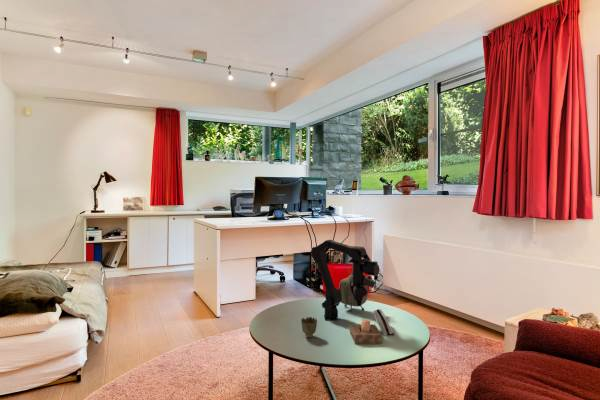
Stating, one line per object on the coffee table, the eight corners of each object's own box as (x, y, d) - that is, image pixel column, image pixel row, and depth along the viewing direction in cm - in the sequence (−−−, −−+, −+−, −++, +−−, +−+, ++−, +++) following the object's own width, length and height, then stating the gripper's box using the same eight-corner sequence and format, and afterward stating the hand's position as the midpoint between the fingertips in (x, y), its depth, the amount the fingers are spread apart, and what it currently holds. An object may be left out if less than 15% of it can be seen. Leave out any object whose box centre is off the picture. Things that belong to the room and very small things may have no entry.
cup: (305, 341, 154) (305, 323, 154) (298, 335, 161) (298, 318, 161) (320, 338, 158) (320, 321, 158) (312, 332, 164) (312, 315, 164)
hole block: (355, 344, 152) (355, 335, 152) (350, 332, 164) (350, 324, 164) (381, 343, 153) (381, 334, 153) (374, 332, 165) (375, 324, 165)
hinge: (395, 335, 162) (388, 315, 161) (386, 339, 162) (379, 319, 161) (386, 322, 178) (379, 304, 178) (377, 325, 178) (371, 307, 178)
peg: (362, 340, 156) (362, 322, 156) (360, 336, 160) (360, 319, 160) (370, 340, 157) (371, 322, 156) (368, 336, 161) (369, 319, 160)
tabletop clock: (367, 310, 196) (367, 266, 195) (361, 315, 188) (361, 269, 187) (343, 305, 203) (344, 263, 203) (337, 310, 196) (337, 266, 195)
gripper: (378, 277, 163) (377, 310, 163) (370, 268, 181) (369, 297, 182) (355, 277, 162) (354, 309, 163) (349, 267, 181) (348, 296, 182)
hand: (357, 303), depth 172 cm, fingers open, 9 cm apart
